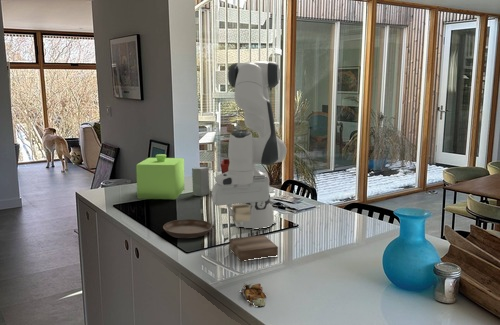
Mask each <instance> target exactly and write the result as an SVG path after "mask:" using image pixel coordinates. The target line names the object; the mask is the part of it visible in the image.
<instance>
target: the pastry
mask: <svg viewBox="0 0 500 325" xmlns="http://www.w3.org/2000/svg"><path fill="white" fill-rule="evenodd" d="M240 290H241V291H242V292H241V294H242V296H243V298H245V301H246V300H249V301H250V302H249V303H250V304H249V306H251V305H253V303H254V305H255V306H260V307H265V306H264V304H265V302H266V301H265V298H266V293H265V292H264V291H263V286H262V285H261V283H256V284H255V283H254V282H253V283H249V284H247V283H243V286H242V289H240ZM240 290H238V292H239V291H240Z"/></svg>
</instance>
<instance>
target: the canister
mask: <svg viewBox="0 0 500 325" xmlns="http://www.w3.org/2000/svg"><path fill="white" fill-rule="evenodd" d="M135 166H136V168H135V169H136V170H135V171H136V192H137V193H136V194H137V195H136V196H137V200H138V199H139V200H177V198H178V197H179V196H180V195H181V194H182V193H183V192H184V191H185V159H184V157H167V154H165V153H164V154H162V153H159V154H155V157H148V158H145V159H144V160H142V161H141V162H139V163H137V164H135ZM183 190H184V191H183ZM182 191H183V192H182Z"/></svg>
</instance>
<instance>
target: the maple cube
mask: <svg viewBox="0 0 500 325" xmlns="http://www.w3.org/2000/svg"><path fill="white" fill-rule="evenodd" d="M231 209H232V210H234V211H235V216H231V218H232V219H234V220H235V221H236V222H244V221H250V207H249V206H248V205H247V204H246V203H245V204H232V207H231ZM234 220H233V221H234Z"/></svg>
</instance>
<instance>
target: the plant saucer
mask: <svg viewBox="0 0 500 325" xmlns="http://www.w3.org/2000/svg"><path fill="white" fill-rule="evenodd" d="M162 228H163V230H164V231H165V233H166V234H167V235H169V236H171V237H173V238H176V239H177V238H178V239H196V238H197V239H198V238H200V237H203V236H206V235H207V234H208V233H209V232H210V231H211V229H212V228H213V224H212V223H211V222H209V221H207V220H202V219H195V218H194V219H193V218H192V219H191V218H185V219H184V218H183V219H175V220H171V221H169V222H166V223H165V224H164V225H163V226H162Z"/></svg>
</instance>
